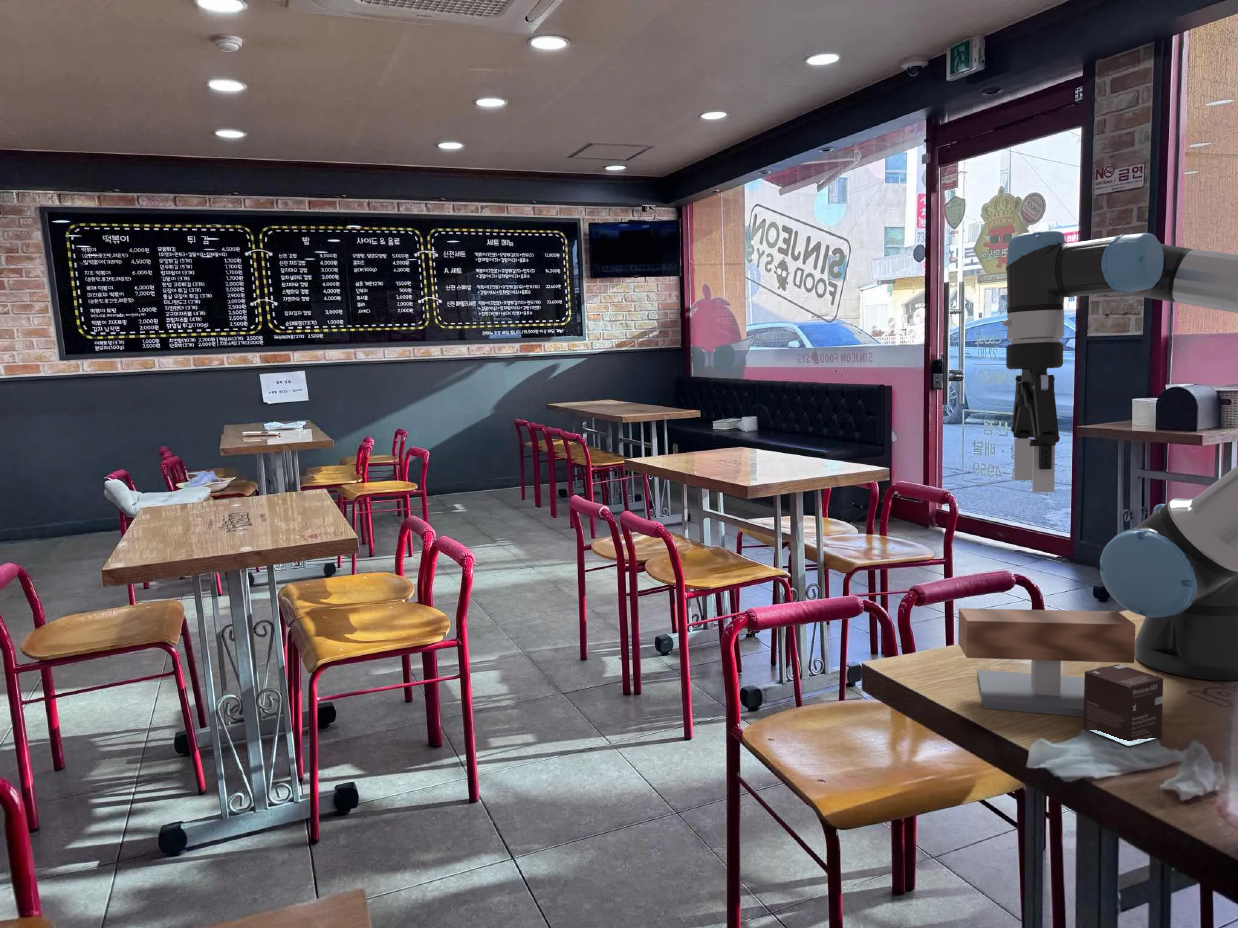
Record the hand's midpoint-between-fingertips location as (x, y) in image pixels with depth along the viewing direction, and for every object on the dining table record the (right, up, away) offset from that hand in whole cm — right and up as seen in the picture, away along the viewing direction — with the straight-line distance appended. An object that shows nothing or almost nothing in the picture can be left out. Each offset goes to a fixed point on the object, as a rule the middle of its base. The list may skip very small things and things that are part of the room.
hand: (1032, 486), depth 128 cm
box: (-2, -29, -25) cm, 39 cm away
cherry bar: (-5, -22, -14) cm, 26 cm away
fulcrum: (-5, -28, -13) cm, 31 cm away
